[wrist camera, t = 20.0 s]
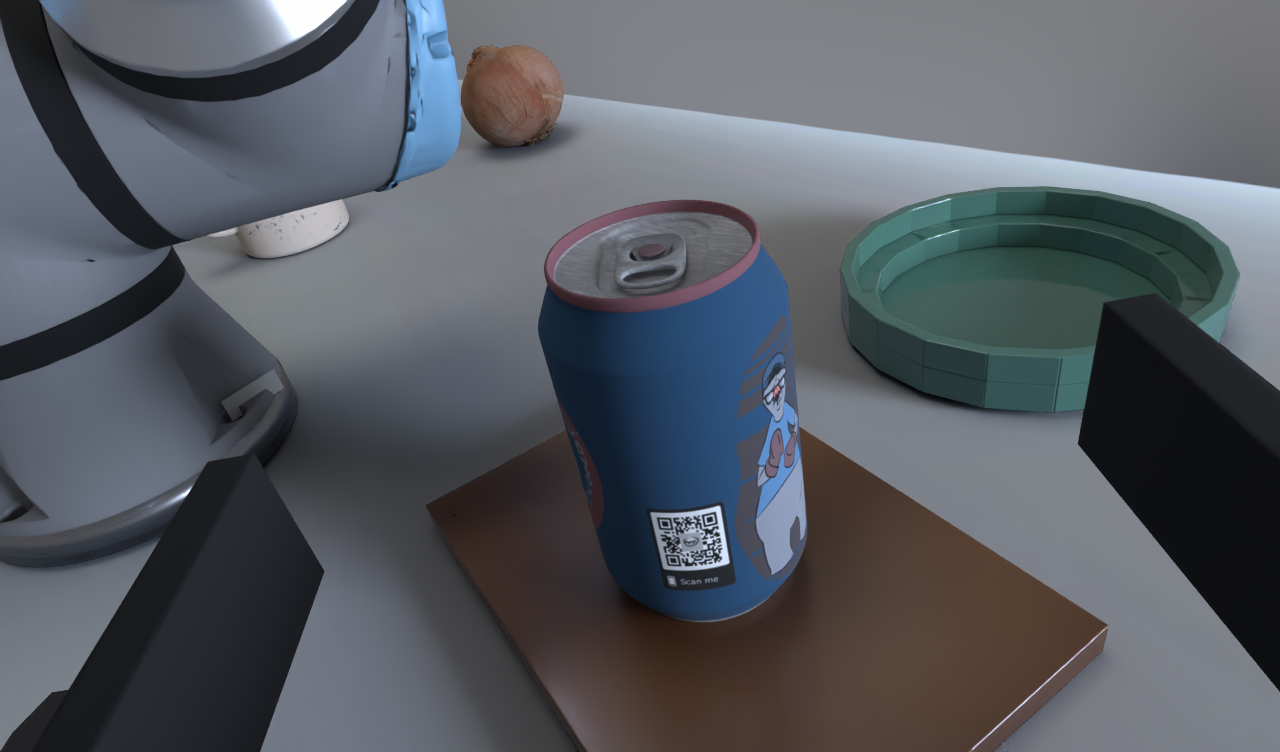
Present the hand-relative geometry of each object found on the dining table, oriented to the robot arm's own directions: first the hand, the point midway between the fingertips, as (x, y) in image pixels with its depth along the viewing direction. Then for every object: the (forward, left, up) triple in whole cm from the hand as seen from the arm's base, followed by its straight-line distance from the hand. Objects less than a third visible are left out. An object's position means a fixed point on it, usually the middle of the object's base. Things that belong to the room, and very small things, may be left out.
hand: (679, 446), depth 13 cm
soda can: (-8, +5, -13) cm, 16 cm away
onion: (-62, +24, -14) cm, 68 cm away
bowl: (-11, +26, -14) cm, 31 cm away
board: (-8, +5, -14) cm, 17 cm away
